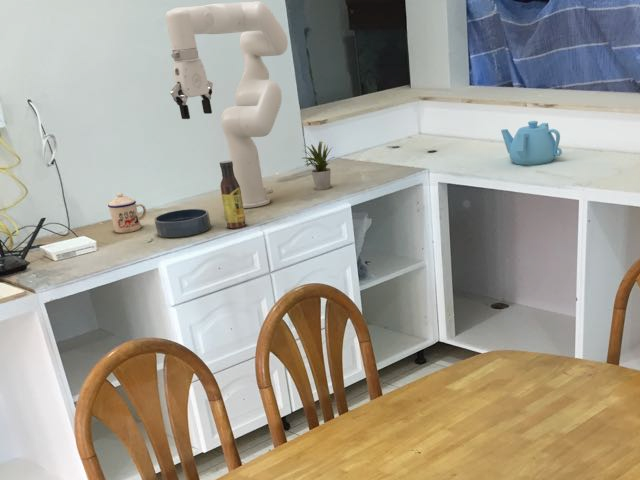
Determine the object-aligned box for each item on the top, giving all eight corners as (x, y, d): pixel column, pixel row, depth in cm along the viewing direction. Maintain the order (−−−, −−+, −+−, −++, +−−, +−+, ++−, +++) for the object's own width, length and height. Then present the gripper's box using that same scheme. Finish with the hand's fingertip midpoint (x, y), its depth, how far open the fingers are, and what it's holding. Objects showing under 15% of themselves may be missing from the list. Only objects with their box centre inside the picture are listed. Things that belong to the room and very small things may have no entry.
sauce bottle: (242, 228, 299) (231, 163, 288) (224, 229, 300) (212, 164, 289) (249, 223, 304) (238, 159, 294) (231, 224, 305) (219, 160, 295)
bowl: (185, 222, 313) (182, 207, 310) (221, 226, 304) (219, 210, 301) (146, 236, 301) (143, 220, 299) (183, 240, 292) (180, 224, 290)
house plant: (304, 185, 349) (298, 138, 340) (341, 181, 348) (335, 134, 339) (301, 193, 337) (294, 145, 328) (339, 189, 336) (333, 141, 327)
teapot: (549, 153, 359) (549, 114, 351) (566, 162, 343) (566, 121, 335) (501, 160, 357) (500, 121, 349) (516, 169, 341) (515, 128, 333)
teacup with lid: (119, 234, 306) (110, 198, 300) (110, 230, 313) (101, 194, 307) (153, 227, 311) (145, 191, 305) (144, 223, 318) (136, 187, 312)
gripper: (173, 59, 277) (185, 121, 287) (214, 51, 289) (224, 111, 298) (156, 59, 281) (168, 120, 290) (197, 52, 293) (208, 111, 302)
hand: (197, 116), depth 294 cm, fingers open, 9 cm apart
